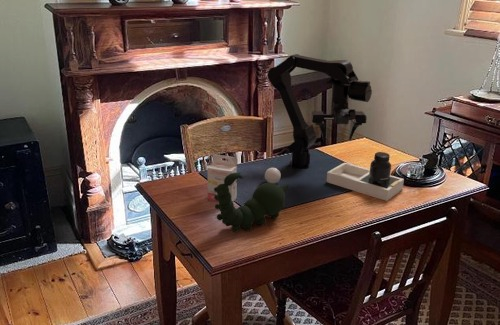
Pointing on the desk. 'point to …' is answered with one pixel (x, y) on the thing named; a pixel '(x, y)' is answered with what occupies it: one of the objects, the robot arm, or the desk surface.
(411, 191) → the desk surface
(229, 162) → the ink cartridge box
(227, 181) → the toy figurine
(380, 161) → the supplement bottle
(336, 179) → the tray
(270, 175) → the white ball
